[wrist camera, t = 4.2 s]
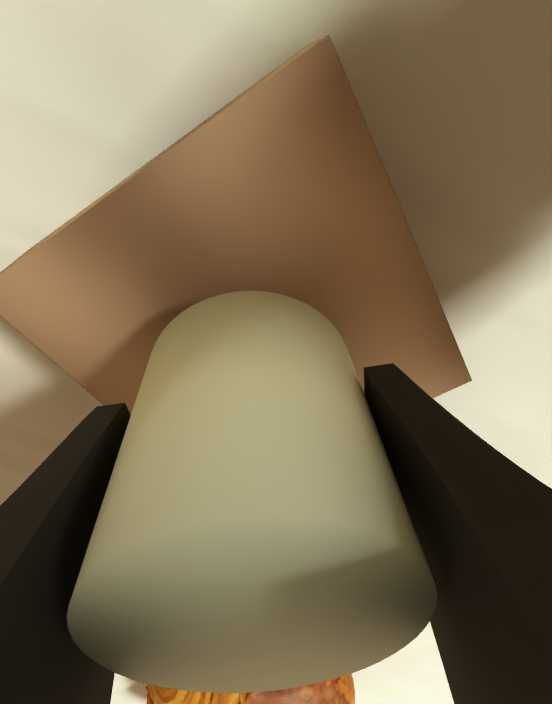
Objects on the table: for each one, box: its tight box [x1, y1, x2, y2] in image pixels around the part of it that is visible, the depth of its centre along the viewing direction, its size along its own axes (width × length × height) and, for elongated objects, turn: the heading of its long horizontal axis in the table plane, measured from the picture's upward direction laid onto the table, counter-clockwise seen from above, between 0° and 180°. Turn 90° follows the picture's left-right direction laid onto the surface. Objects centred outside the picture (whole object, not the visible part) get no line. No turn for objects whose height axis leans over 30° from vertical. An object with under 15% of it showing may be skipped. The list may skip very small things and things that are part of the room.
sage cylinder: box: [67, 291, 437, 693], centre depth 8 cm, size 5×5×6 cm
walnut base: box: [0, 35, 472, 415], centre depth 13 cm, size 10×10×3 cm
